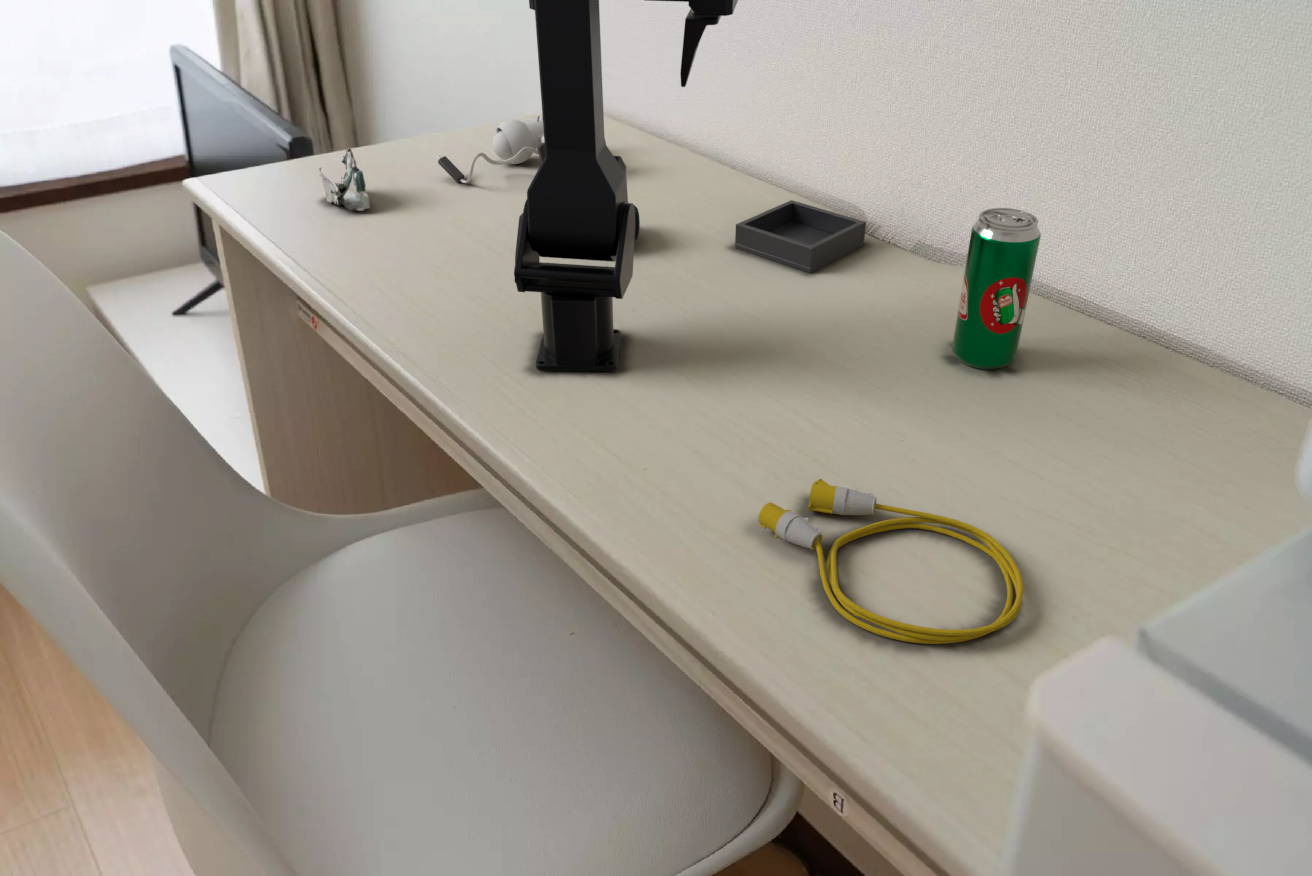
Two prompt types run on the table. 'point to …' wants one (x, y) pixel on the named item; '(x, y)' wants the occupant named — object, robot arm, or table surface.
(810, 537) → the extension cord
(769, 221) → the square tray
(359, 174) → the grey green figurine
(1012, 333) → the soda can
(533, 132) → the clip-on lamp
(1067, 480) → the table surface
